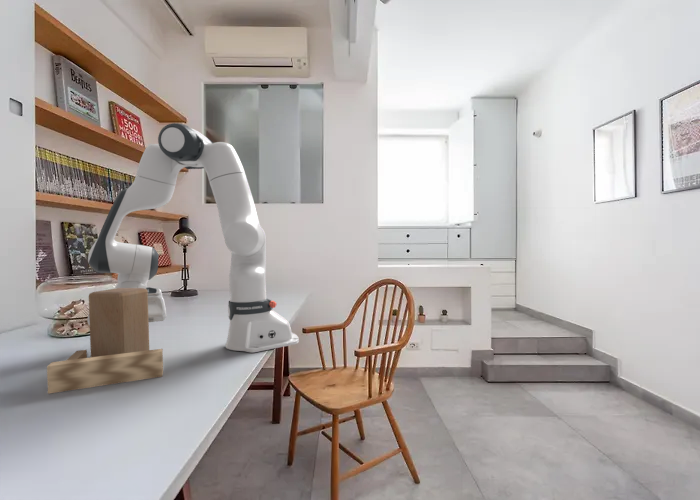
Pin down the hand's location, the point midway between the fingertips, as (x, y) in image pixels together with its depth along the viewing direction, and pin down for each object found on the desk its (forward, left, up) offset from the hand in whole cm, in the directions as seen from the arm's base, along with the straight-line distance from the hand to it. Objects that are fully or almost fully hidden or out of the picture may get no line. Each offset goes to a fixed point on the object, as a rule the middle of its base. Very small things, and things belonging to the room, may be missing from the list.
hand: (126, 335), depth 103 cm
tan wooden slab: (0, +19, -6) cm, 19 cm away
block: (0, +8, -6) cm, 10 cm away
